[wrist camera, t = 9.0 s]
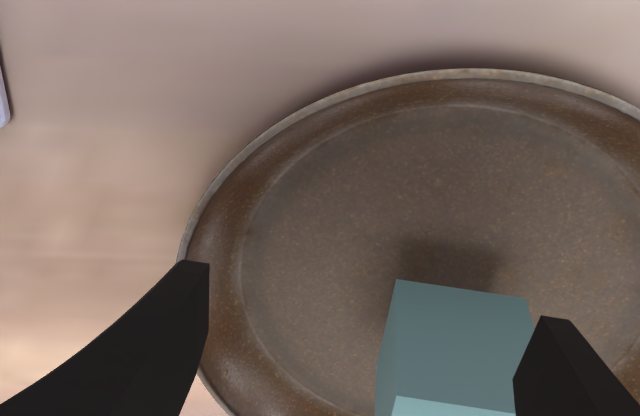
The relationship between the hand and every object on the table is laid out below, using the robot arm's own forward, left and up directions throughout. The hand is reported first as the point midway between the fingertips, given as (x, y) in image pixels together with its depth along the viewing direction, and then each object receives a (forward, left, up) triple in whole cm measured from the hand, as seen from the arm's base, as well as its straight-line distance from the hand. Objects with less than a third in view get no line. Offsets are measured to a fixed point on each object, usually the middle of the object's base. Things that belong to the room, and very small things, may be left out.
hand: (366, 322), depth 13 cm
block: (+4, -6, -6) cm, 10 cm away
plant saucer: (+4, -7, -10) cm, 12 cm away
